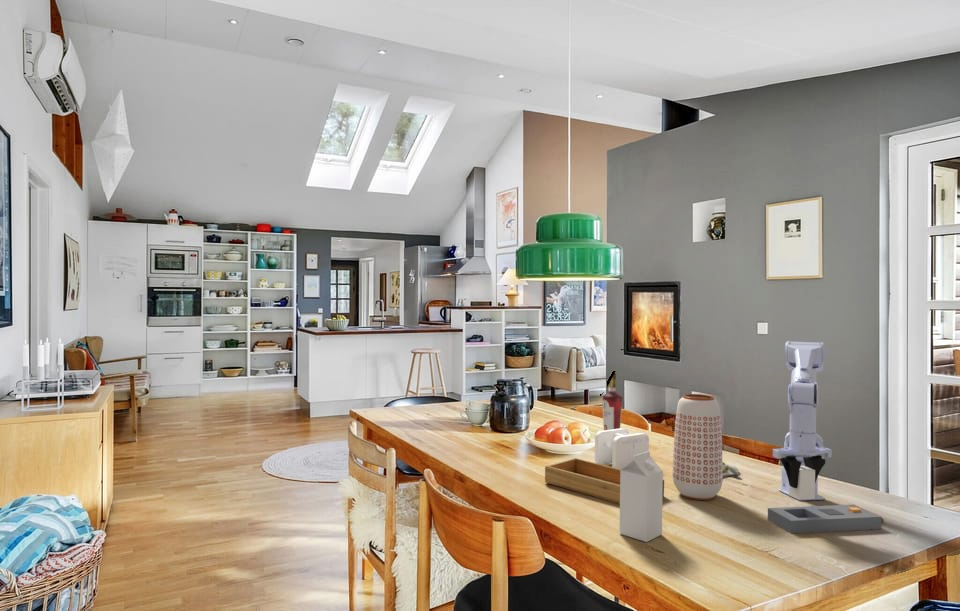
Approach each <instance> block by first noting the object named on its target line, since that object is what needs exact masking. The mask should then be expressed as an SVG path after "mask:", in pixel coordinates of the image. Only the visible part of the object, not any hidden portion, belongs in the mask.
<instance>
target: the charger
mask: <svg viewBox="0 0 960 611" xmlns="http://www.w3.org/2000/svg"><path fill="white" fill-rule="evenodd" d="M789 495H791V496H794V497H796V498H798V499H815V470H813V469H811V468H808V467H806V466H800V469H799V475H798V487H797V488H793V487H791V486H790V485H789ZM789 495H788V496H789ZM791 496H790V497H791ZM794 497H793V498H794ZM796 498H795V499H796ZM798 499H797V500H798Z"/></svg>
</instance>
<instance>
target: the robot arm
mask: <svg viewBox="0 0 960 611" xmlns="http://www.w3.org/2000/svg"><path fill="white" fill-rule="evenodd" d="M784 350H785V352H784V358H785V366H786V368H787V369H788V370H789V371H791V375H790V383H789V384H788V387H787V390H788V391H787V402H788V411H789V413H790V414H789V431H788V432H786V435H785V436H784V445H783V447H781V448H772V457H773V458H774V459H778V460H779V461H780V462H781V464H782V468H781V484H780V485H781V486H780V487H781V488H778V491H779V492H781V493H784V494H785V495H787V496H790V497H791V498H794V499H796V500H798V501H817V500H818V501H819V500H820V501H821V500H822V501H823V500H826V497H824V496H822V495H820V494H818V493H819V492H818V491H819V488H818V487H819V474H820V472H821V470H822V468H823V467H824V466H825V464H826V459H825V458H832V457H833V456H832V455H833V454H832V453H833V452H832V449H831V448H828V447H824V439H823V438H822V436H821V435H820V434H818V433H817V407H818V405H819V385H818V381H817V373H820V372H823V371H824V368H825V363H826V344H825V343H824V341H823V342H822V341H821V342H813V341H812V342H809V341H790V340H787V341H786V342H785V348H784ZM815 405H816V406H815ZM800 466H806V467H808V468H811V469H813V470H815V499H798V498H796V497H794V496H791V495H789V485H790V486H791V487H793V488H797V487H798V475H799V469H800Z"/></svg>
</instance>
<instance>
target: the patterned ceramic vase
mask: <svg viewBox="0 0 960 611" xmlns="http://www.w3.org/2000/svg"><path fill="white" fill-rule="evenodd" d="M721 418H722V417H721V410H720V404H719V402H718V400H716V398H715V397H714V396H713V395H708V394H701V393H687V394H683V395H682V397H681V398H679V400H678V402H677V406H676V414H675V423H674V435H673V436H674V437H673V455H672V457H673V458H672V480H673V485H674V486H675V488H676V490H677V491H678V492H679V493H680V495H681V496H682V497H685V498H687V499H691V500H695V501H710V500H712V499H714V498H715V496H716V495H717V494H718V493H719V492H720V491H721V490H722V486H723V480H724V477H723V463H724V462H723V437H722V436H723V434H722V421H721V420H722V419H721ZM722 462H723V463H722Z"/></svg>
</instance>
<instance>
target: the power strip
mask: <svg viewBox="0 0 960 611" xmlns="http://www.w3.org/2000/svg"><path fill="white" fill-rule="evenodd" d="M767 521H769V522H770V521H771V522H770V523H772V522H773V523H772V524H773V525H775V526H777V525H778V526H777V527H778V528H780V529H782V530H785V531H787V532H788V533H789V532H790V533H789V534H807V533H808V534H809V533H810V534H811V533H827V532H850V531H867V530H868V531H869V530H870V529H873V530H882V523H883V522H884V518H883V517H882V516H881V515H878V514H877V513H874V512H872V511H869V510H867V509H865V508H862V507H860V506H858V505H856V504H839V505H838V504H835V505H834V504H832V505H813V506H812V505H811V506H810V505H808V506H790V507H789V506H787V507H786V506H784V507H767ZM870 531H871V530H870Z"/></svg>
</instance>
